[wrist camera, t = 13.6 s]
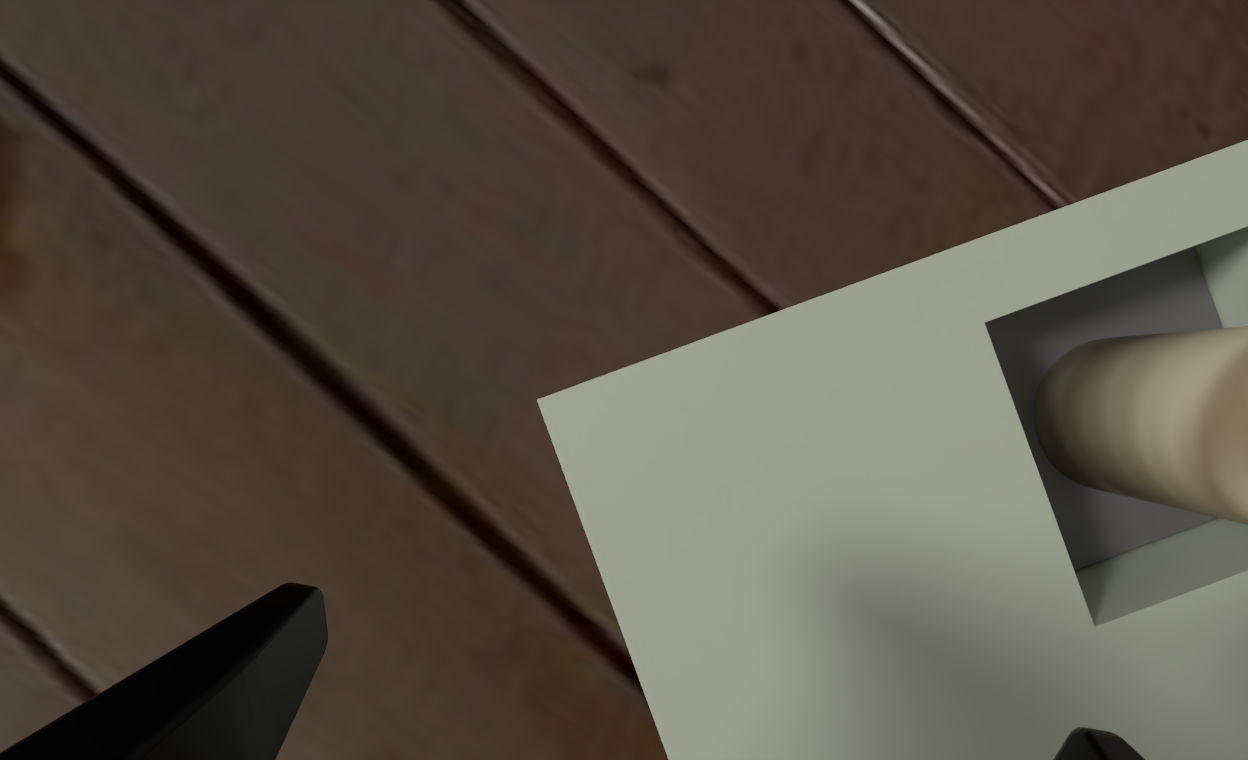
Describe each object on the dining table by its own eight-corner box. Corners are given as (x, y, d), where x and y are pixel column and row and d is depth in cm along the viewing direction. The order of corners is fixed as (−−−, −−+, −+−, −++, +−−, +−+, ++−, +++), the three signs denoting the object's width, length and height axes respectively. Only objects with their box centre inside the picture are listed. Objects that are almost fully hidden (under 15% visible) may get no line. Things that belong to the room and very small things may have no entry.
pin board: (1413, 664, 20) (1552, 714, 17) (738, 914, 20) (760, 1009, 17) (1227, 148, 20) (1335, 108, 17) (549, 396, 20) (536, 399, 17)
